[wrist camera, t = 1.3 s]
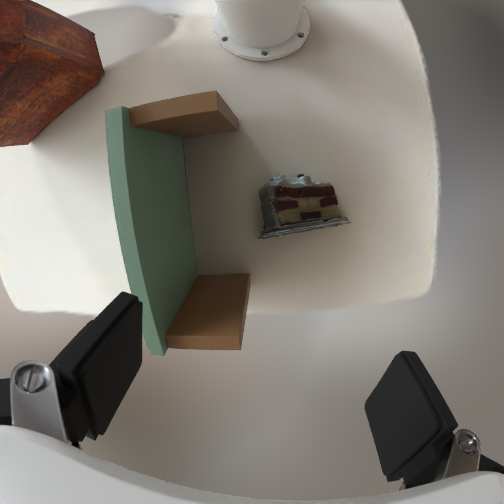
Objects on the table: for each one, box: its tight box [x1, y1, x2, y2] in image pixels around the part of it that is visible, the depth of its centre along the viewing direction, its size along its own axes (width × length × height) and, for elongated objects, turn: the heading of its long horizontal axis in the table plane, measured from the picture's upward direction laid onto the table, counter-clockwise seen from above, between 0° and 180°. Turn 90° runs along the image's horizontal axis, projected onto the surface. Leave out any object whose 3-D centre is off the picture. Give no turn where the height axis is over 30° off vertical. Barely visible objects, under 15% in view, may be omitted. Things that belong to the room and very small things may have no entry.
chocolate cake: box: [257, 174, 352, 240], centre depth 33 cm, size 10×7×12 cm
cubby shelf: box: [106, 91, 251, 356], centre depth 28 cm, size 22×9×16 cm, turn 4°
